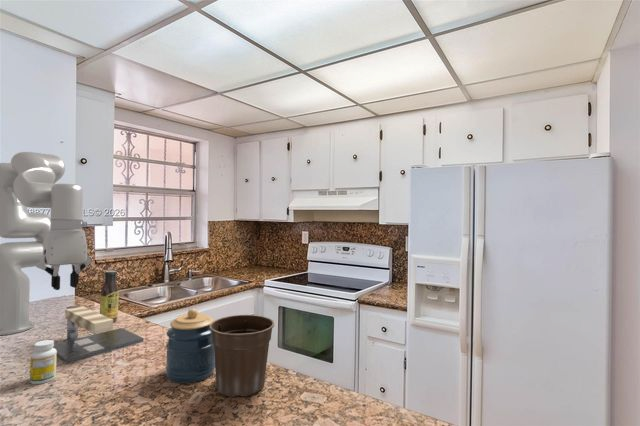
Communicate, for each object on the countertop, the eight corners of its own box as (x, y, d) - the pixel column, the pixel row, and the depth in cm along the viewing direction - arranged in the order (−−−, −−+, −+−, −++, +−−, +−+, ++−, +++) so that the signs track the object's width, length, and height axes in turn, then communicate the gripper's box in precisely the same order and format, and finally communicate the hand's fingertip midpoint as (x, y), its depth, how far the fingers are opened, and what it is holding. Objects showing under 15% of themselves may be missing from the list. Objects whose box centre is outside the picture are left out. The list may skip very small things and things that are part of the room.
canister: (224, 367, 99) (226, 305, 99) (194, 388, 87) (196, 318, 87) (188, 359, 104) (189, 301, 104) (154, 379, 91) (155, 312, 91)
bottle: (109, 324, 133) (110, 273, 133) (95, 323, 134) (96, 272, 134) (122, 319, 139) (123, 270, 139) (108, 318, 140) (109, 269, 140)
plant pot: (238, 366, 100) (240, 310, 100) (284, 380, 92) (286, 320, 92) (194, 391, 86) (195, 326, 86) (244, 410, 78) (246, 339, 78)
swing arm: (62, 316, 116) (62, 307, 116) (79, 313, 120) (79, 304, 120) (94, 333, 101) (94, 323, 101) (112, 329, 105) (113, 319, 105)
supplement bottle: (48, 383, 87) (49, 346, 87) (24, 385, 86) (25, 347, 86) (60, 374, 93) (61, 338, 93) (38, 375, 92) (38, 339, 92)
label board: (41, 345, 111) (42, 322, 111) (114, 327, 129) (114, 307, 129) (66, 363, 99) (67, 337, 99) (143, 341, 117) (143, 319, 117)
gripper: (92, 224, 110) (91, 282, 110) (26, 225, 97) (25, 290, 97) (102, 225, 106) (101, 285, 106) (35, 227, 93) (33, 295, 93)
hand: (65, 287), depth 102 cm, fingers open, 3 cm apart
